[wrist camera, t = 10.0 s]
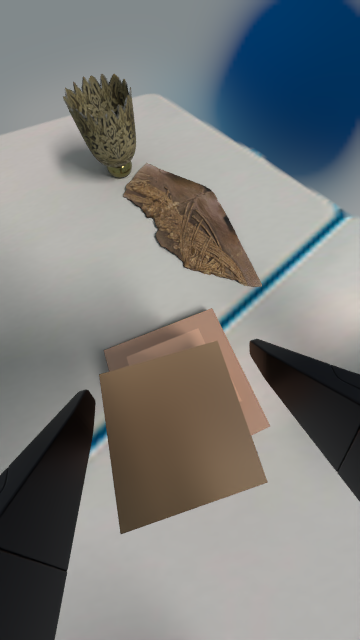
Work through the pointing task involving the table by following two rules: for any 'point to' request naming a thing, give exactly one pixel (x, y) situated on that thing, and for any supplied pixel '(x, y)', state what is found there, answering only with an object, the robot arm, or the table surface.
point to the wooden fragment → (191, 224)
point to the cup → (105, 121)
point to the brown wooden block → (176, 435)
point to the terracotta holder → (185, 337)
